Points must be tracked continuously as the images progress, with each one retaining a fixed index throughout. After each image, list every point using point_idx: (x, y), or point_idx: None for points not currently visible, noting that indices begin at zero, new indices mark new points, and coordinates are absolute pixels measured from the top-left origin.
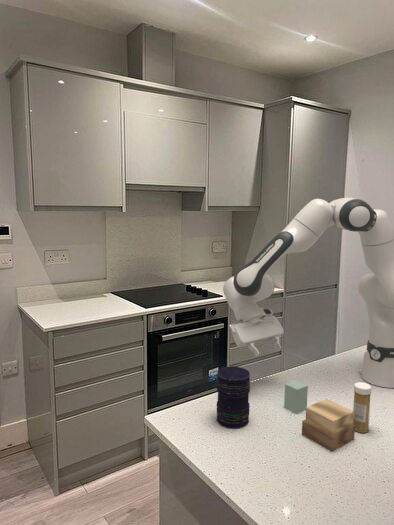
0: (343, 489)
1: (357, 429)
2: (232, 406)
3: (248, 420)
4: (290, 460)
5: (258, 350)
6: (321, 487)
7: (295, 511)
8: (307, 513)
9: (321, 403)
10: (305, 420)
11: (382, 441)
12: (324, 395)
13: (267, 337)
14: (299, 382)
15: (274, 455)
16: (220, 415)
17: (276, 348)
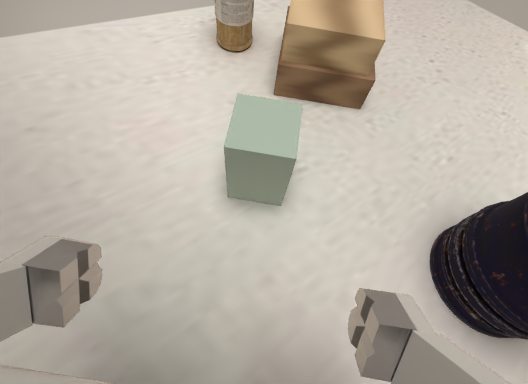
0: (424, 15)
1: (251, 35)
2: None
3: (449, 228)
4: (451, 86)
5: (399, 315)
6: (451, 33)
7: (522, 39)
8: (508, 29)
9: (326, 23)
10: (365, 76)
11: None
12: (103, 156)
13: (94, 381)
14: (234, 125)
15: (470, 112)
16: None
17: (87, 277)
